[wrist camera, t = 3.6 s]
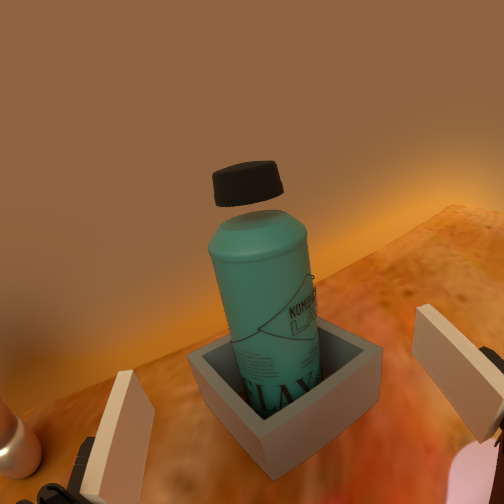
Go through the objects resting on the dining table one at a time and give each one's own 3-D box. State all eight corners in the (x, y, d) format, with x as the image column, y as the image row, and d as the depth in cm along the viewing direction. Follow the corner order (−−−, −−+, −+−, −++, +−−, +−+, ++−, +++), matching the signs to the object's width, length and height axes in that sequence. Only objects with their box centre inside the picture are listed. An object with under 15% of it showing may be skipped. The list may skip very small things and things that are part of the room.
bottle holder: (378, 401, 23) (383, 348, 21) (273, 481, 18) (259, 438, 16) (297, 350, 32) (290, 302, 30) (205, 402, 27) (185, 354, 25)
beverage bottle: (240, 429, 23) (164, 182, 16) (264, 377, 29) (216, 164, 22) (318, 439, 21) (281, 162, 14) (331, 381, 26) (306, 150, 20)
